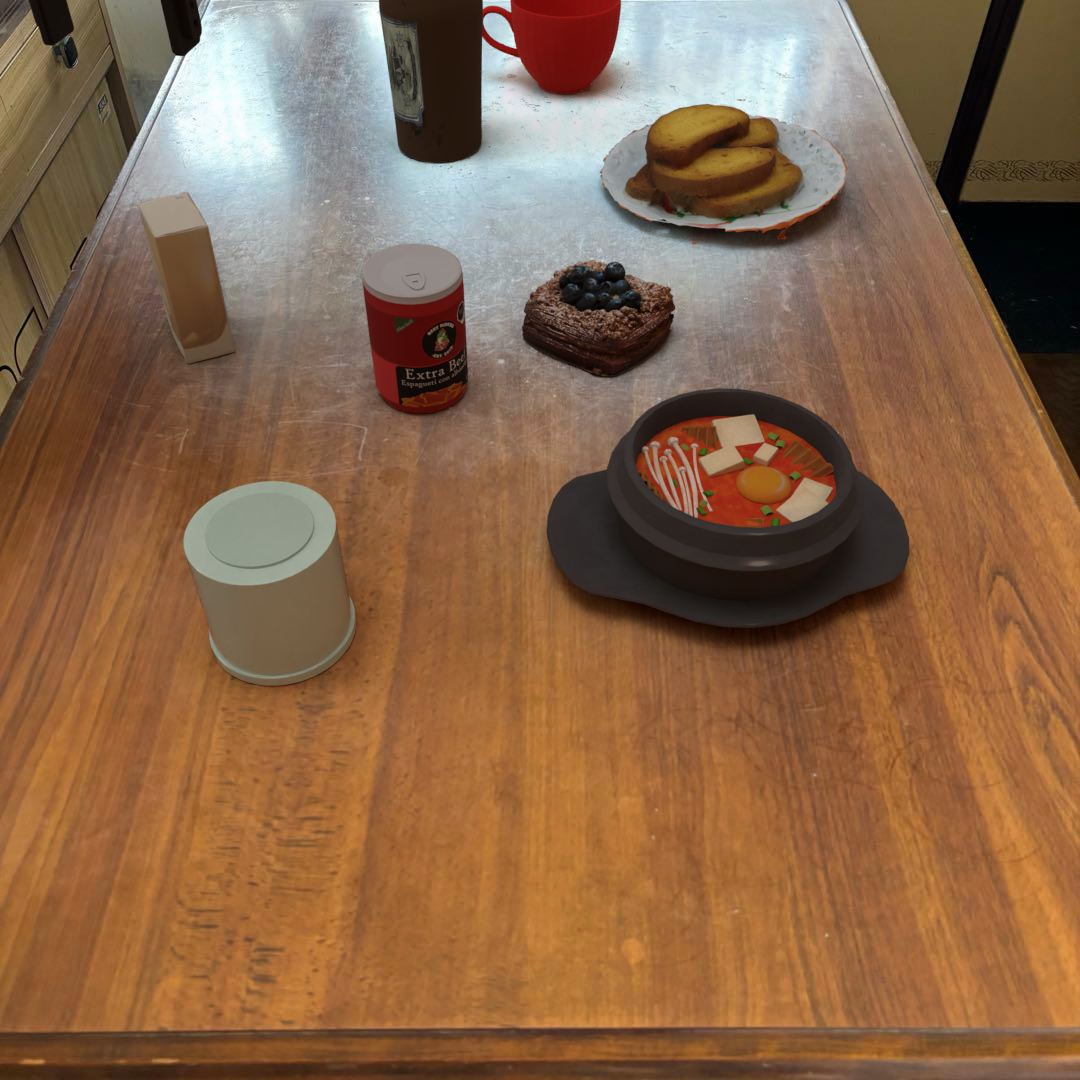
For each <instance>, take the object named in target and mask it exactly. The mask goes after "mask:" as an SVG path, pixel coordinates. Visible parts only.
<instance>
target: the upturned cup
mask: <svg viewBox="0 0 1080 1080" xmlns="http://www.w3.org/2000/svg"><path fill="white" fill-rule="evenodd" d="M182 542H183V543H182V544H183V546H182V547H183V552H184V555H185V558H186V561H187V565H188V567H189V571H190V574H191V577H192V580H193V584H194V586H195V589H196V594H197V596H198V600H199V603H200V606H201V609H202V612H203V615H204V619H205V622H206V624H207V625H206V626H207V628H208V639H209V644H210V648H211V652H212V654H213V656H214V658H215V660H216V662H217V663H218V665H219V666H220V667H221V668H222V669H223V670H224V671H225V672H227V673H228V674H229V675H231V676H232V677H234V678H236V679H237V680H240V681H243V682H245V683H248V684H253V685H258V686H265V687H266V686H268V687H272V686H273V687H277V686H287V685H292V684H297V683H300V682H304V681H306V680H309V679H312V678H314V677H317V676H318V675H320V674H322V673H324V672H326V671H327V670H328V669H329V668H331V667H332V666H334V665H335V664H336V663H337V662H338V661H339V660H340V659H341V658H342V657H343V656H344V655H345V654H346V652H347V651H348V649H349V648H350V646H351V644H352V642H353V641H354V637H355V635H356V629H357V615H356V609H355V604H354V602H353V599H352V597H351V596H350V593H349V586H348V581H347V575H346V570H345V563H344V559H343V553H342V545H341V541H340V536H339V530H338V524H337V518H336V515H335V512H334V509H333V507H332V506H331V504H330V503H329V501H327V499H326V498H325V497H324V496H322V495H321V494H320V493H319V492H318V491H315V490H314V489H312V488H309V487H307V486H305V485H301V484H299V483H294V482H289V481H282V480H281V481H280V480H268V481H256V482H250V483H247V484H243V485H239V486H236V487H233V488H231V489H228V490H225V491H223V492H221V493H219V494H218V495H216V496H215V497H213V498H211V499H210V500H208V501H207V502H205V503H204V504H203V505H202V506H201V507H199V509H198V510H197V511H196V512H195V513H194V515H193V516H192V517H191V519H190V520H189V521H188V524H187V526H186V528H185V531H184V534H183V540H182Z"/></svg>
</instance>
